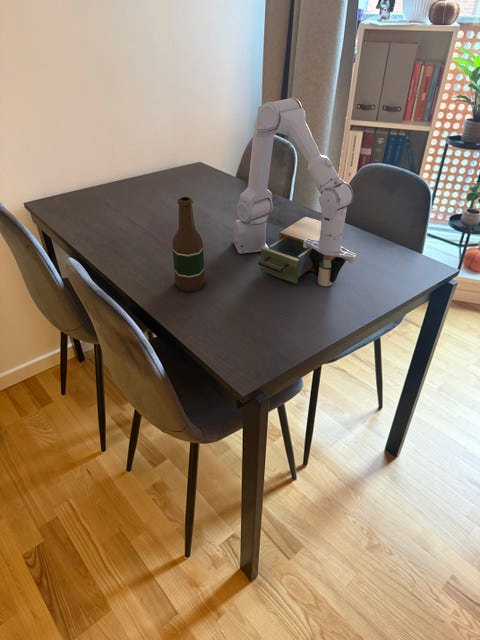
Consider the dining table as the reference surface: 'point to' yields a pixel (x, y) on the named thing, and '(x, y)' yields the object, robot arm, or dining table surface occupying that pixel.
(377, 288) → the dining table surface
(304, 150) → the robot arm
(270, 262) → the green drawer
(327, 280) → the jar
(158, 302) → the dining table surface
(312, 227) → the wooden drawer box
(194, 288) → the beer bottle
